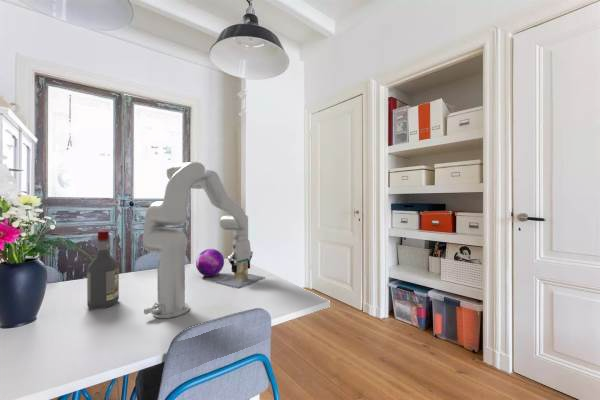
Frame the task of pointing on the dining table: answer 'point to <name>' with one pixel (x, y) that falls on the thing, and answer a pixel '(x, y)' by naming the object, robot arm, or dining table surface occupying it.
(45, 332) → the dining table surface
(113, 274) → the liquor
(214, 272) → the decorative orb
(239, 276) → the maple block
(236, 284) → the slate mat
